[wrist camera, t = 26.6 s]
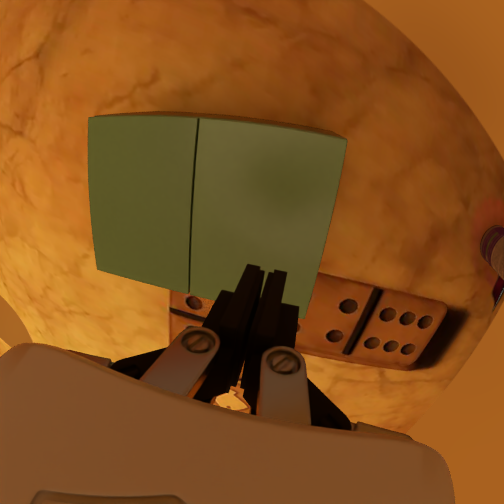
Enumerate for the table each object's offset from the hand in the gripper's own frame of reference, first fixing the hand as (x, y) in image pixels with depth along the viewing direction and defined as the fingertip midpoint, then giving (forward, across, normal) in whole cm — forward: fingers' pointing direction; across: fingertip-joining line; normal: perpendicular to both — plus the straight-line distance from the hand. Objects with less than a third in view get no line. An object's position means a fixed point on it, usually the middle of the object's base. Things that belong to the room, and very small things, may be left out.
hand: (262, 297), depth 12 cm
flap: (+8, +2, 0) cm, 8 cm away
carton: (+18, +6, 0) cm, 20 cm away
